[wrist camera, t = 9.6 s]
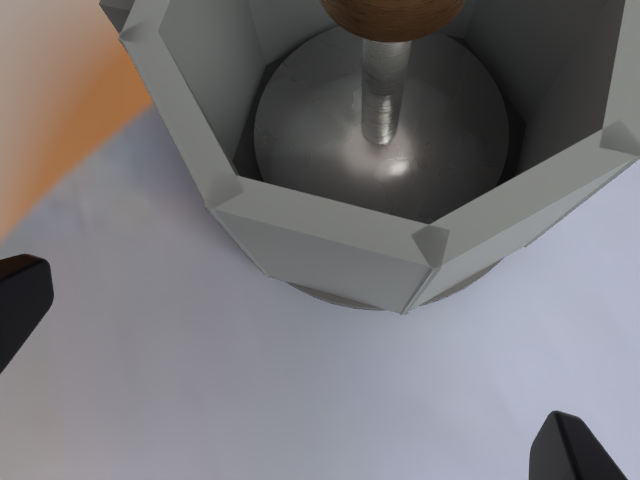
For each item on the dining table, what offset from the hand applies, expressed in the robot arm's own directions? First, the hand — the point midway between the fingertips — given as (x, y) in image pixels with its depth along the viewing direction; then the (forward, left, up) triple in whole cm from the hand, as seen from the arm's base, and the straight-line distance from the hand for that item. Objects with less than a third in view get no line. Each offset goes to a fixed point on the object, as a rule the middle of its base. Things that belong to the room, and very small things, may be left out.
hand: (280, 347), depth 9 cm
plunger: (+6, +5, -7) cm, 11 cm away
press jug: (+6, +5, -9) cm, 12 cm away
